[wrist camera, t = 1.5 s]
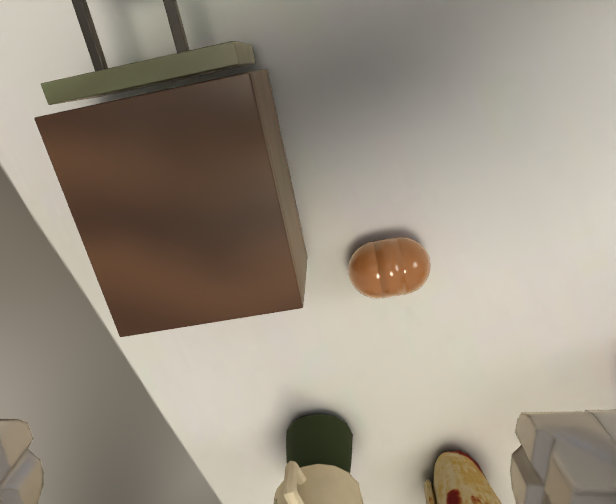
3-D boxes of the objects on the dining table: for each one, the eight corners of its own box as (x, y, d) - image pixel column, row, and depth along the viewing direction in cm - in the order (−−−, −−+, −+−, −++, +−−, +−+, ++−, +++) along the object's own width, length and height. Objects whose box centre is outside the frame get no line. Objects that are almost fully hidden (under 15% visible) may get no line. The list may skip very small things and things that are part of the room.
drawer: (64, -5, 32) (0, -21, 26) (231, -45, 31) (207, -72, 24) (153, 255, 39) (119, 293, 32) (292, 230, 37) (286, 265, 31)
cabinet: (99, 104, 35) (33, 117, 27) (267, 68, 34) (249, 71, 26) (160, 282, 40) (119, 337, 32) (307, 257, 39) (303, 308, 31)
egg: (351, 287, 40) (355, 313, 36) (342, 238, 38) (345, 259, 34) (426, 275, 39) (438, 299, 35) (421, 224, 38) (432, 244, 34)
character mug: (260, 403, 45) (236, 530, 33) (331, 378, 43) (333, 501, 31) (308, 485, 48) (303, 626, 36) (375, 464, 47) (393, 603, 35)
